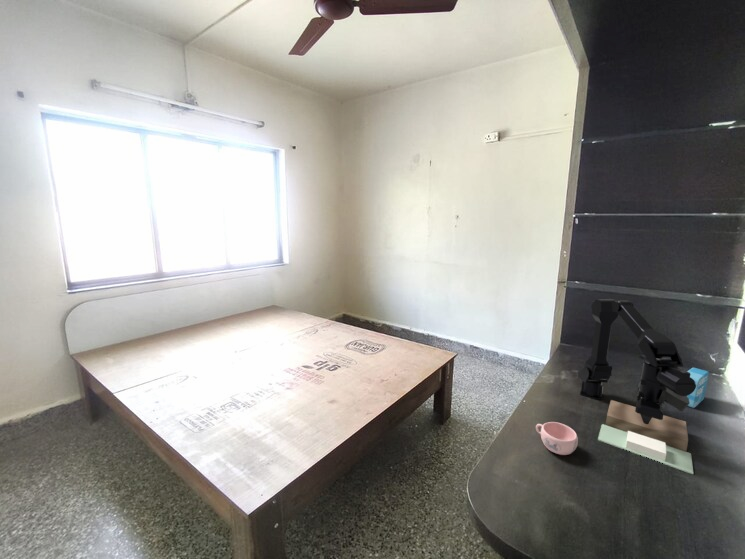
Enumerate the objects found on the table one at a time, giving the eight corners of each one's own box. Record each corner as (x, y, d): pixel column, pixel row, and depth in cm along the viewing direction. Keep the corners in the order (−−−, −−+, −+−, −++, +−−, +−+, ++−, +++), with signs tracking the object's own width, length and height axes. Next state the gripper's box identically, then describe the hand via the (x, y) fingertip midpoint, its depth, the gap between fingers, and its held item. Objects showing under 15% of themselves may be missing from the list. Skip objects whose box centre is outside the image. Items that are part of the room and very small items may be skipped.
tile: (627, 430, 104) (626, 437, 105) (627, 440, 100) (625, 447, 100) (665, 442, 99) (664, 449, 99) (666, 453, 94) (664, 461, 95)
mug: (581, 449, 100) (583, 432, 99) (568, 464, 94) (570, 446, 93) (542, 429, 110) (543, 414, 109) (527, 442, 104) (528, 426, 103)
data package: (693, 409, 120) (699, 379, 117) (677, 403, 123) (682, 374, 121) (704, 399, 126) (709, 370, 123) (688, 394, 130) (693, 366, 127)
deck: (605, 425, 111) (606, 415, 110) (609, 409, 120) (610, 399, 119) (685, 452, 98) (688, 440, 98) (683, 432, 107) (685, 421, 106)
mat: (597, 440, 104) (597, 439, 104) (601, 424, 112) (602, 423, 112) (693, 474, 90) (693, 473, 90) (690, 454, 98) (690, 453, 97)
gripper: (691, 400, 88) (682, 451, 91) (687, 374, 102) (679, 419, 105) (639, 387, 95) (631, 434, 98) (641, 364, 109) (635, 406, 112)
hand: (645, 423), depth 103 cm, fingers closed
